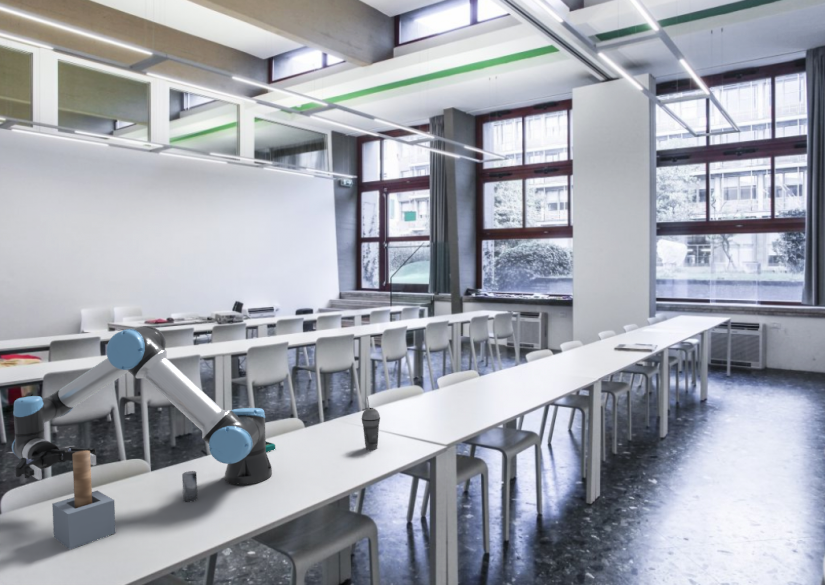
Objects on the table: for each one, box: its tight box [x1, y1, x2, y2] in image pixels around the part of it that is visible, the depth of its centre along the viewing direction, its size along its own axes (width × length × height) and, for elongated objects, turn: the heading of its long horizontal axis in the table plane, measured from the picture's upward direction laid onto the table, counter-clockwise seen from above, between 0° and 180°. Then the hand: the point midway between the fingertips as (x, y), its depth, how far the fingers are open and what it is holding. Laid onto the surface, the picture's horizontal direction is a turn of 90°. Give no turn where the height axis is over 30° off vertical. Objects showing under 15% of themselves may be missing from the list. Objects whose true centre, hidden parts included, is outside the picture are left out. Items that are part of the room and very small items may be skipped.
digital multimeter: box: [266, 441, 276, 453], centre depth 220 cm, size 7×15×3 cm, turn 48°
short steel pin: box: [181, 470, 198, 503], centre depth 171 cm, size 4×4×8 cm
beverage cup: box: [361, 396, 381, 451], centre depth 217 cm, size 7×7×20 cm
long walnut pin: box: [72, 451, 93, 508], centre depth 148 cm, size 4×4×22 cm
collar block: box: [51, 490, 117, 550], centre depth 148 cm, size 11×11×9 cm
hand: (68, 467), depth 155 cm, fingers open, 13 cm apart
